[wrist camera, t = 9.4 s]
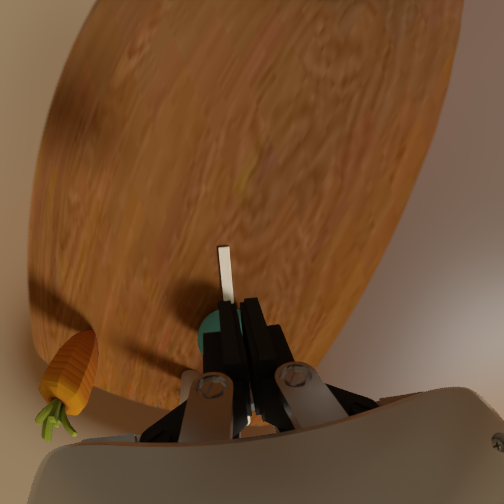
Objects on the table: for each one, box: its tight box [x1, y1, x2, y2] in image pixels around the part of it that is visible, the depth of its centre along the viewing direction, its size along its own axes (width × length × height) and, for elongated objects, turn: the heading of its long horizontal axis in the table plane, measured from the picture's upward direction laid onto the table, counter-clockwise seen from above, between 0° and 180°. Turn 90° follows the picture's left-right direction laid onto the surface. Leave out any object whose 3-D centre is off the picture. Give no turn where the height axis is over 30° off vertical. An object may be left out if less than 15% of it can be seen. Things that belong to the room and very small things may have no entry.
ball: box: [198, 309, 242, 355], centre depth 27 cm, size 6×6×6 cm
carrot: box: [35, 330, 99, 442], centre depth 21 cm, size 5×5×15 cm
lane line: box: [218, 246, 234, 304], centre depth 28 cm, size 9×1×1 cm, turn 3°
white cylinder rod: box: [180, 370, 200, 404], centre depth 27 cm, size 2×2×9 cm
